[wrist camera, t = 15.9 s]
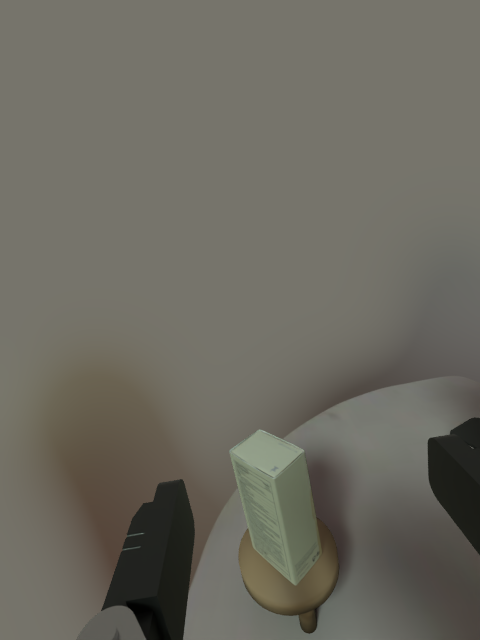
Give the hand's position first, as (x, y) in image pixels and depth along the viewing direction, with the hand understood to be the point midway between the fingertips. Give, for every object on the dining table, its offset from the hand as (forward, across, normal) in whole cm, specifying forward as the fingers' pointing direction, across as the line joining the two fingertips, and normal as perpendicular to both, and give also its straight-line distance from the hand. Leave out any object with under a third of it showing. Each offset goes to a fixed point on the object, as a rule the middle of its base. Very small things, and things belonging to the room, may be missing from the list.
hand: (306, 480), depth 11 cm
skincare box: (+17, +1, +24) cm, 30 cm away
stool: (+18, +1, +30) cm, 35 cm away
